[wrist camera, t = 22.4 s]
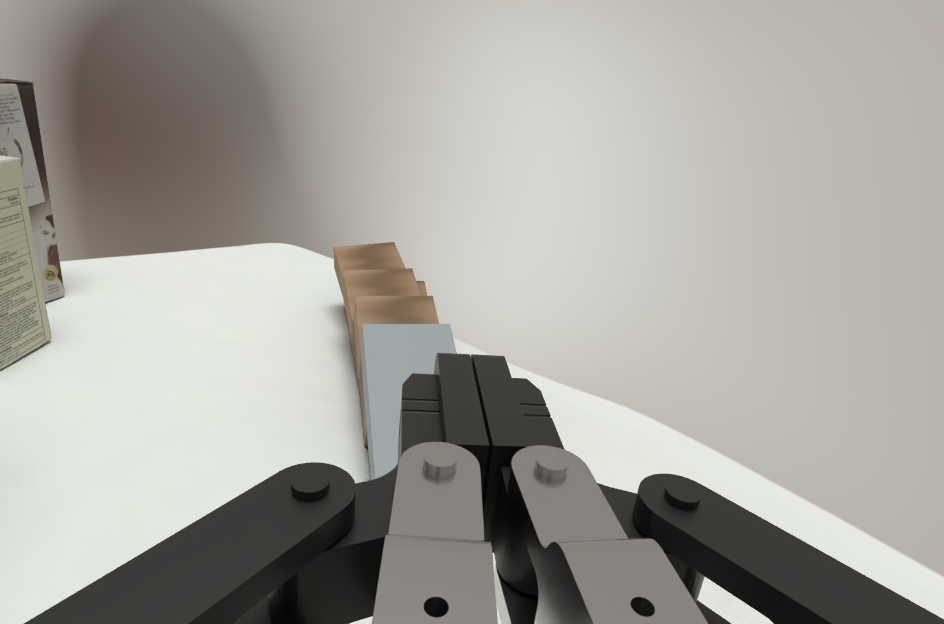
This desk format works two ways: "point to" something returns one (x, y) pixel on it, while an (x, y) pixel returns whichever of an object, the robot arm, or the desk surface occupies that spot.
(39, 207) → the coffee box
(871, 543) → the desk surface
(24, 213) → the skincare box
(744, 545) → the robot arm
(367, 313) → the walnut domino
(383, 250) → the walnut domino
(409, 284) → the walnut domino
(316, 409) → the desk surface
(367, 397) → the grey domino
